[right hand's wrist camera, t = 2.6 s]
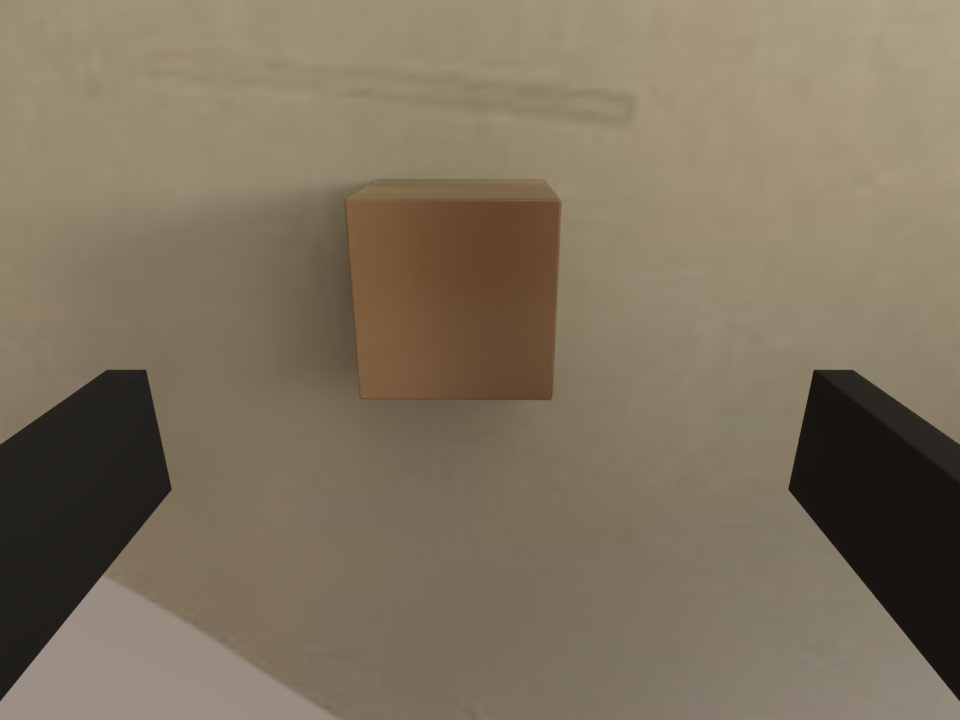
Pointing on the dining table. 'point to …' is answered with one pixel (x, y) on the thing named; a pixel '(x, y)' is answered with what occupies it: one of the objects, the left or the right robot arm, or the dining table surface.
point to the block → (454, 288)
